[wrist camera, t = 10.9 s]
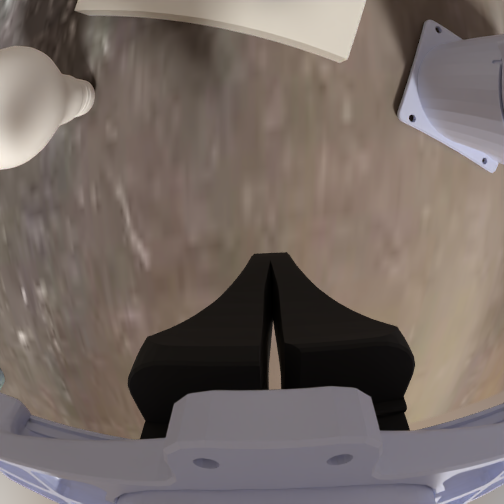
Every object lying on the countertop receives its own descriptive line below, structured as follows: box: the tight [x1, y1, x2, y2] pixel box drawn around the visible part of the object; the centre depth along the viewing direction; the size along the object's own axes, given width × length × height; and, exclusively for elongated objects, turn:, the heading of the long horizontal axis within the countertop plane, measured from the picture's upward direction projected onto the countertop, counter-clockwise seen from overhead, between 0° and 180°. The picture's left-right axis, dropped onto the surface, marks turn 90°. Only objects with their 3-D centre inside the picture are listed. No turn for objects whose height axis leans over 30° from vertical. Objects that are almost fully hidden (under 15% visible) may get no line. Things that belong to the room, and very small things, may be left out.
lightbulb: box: [0, 46, 95, 170], centre depth 12 cm, size 6×6×11 cm
